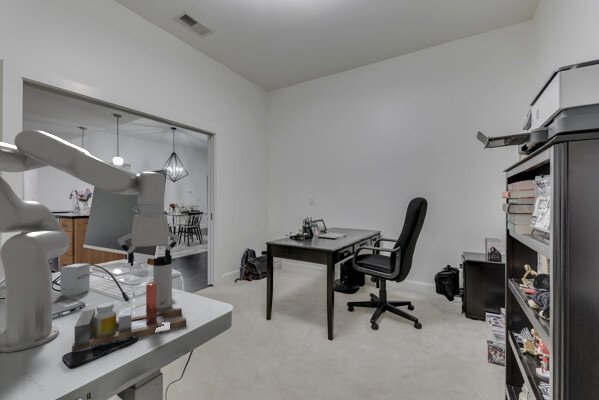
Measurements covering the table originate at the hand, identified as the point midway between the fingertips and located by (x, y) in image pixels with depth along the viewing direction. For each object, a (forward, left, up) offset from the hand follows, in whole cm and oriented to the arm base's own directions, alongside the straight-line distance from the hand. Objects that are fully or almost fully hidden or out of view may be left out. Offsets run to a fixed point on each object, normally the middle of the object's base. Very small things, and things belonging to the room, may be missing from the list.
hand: (149, 263), depth 83 cm
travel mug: (+5, +15, -21) cm, 26 cm away
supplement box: (-27, +57, -21) cm, 66 cm away
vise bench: (-4, 0, -20) cm, 21 cm away
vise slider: (-2, 0, -20) cm, 20 cm away
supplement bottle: (-12, 0, -21) cm, 24 cm away
